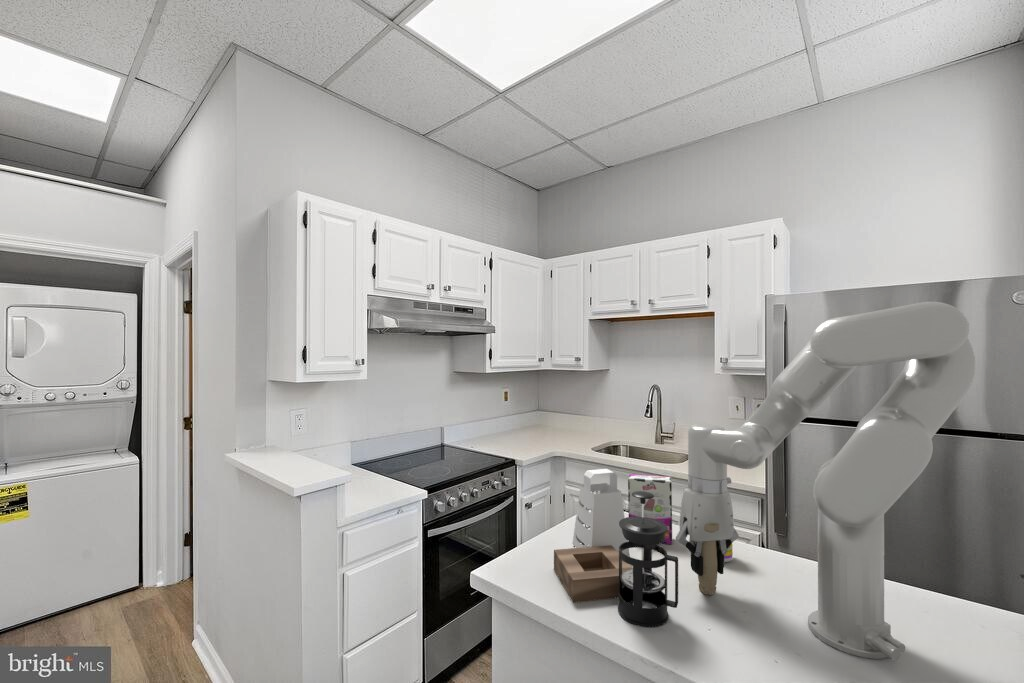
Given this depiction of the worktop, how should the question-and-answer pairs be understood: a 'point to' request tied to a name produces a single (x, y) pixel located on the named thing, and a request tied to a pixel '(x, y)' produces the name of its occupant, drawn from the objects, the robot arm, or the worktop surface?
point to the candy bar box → (652, 500)
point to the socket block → (589, 572)
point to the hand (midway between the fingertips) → (707, 571)
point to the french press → (644, 571)
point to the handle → (709, 563)
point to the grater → (599, 513)
